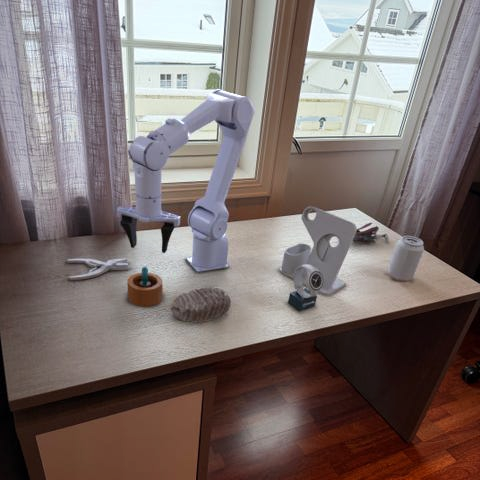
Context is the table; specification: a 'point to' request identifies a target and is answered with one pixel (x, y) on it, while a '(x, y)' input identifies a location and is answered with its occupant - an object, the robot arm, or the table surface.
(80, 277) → the pliers
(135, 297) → the orange flowerpot
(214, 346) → the table surface
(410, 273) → the can
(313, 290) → the watch
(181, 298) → the seashell
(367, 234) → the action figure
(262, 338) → the table surface
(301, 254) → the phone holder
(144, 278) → the brush
